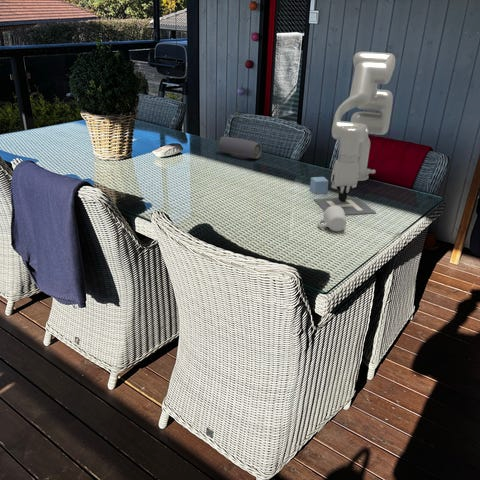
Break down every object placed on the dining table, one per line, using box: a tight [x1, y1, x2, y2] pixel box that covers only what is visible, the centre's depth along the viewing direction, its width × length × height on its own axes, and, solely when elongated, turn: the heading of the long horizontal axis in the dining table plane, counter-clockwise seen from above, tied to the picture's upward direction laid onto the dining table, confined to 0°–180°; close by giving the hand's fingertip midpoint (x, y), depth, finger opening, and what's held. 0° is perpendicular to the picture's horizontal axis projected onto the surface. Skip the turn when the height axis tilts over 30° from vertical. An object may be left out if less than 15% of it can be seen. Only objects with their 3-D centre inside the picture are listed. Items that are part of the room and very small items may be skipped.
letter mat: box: [313, 196, 377, 217], centre depth 202 cm, size 20×18×1 cm
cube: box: [309, 176, 329, 195], centre depth 216 cm, size 6×6×6 cm
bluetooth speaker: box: [217, 136, 263, 160], centre depth 262 cm, size 23×9×10 cm, turn 58°
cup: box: [317, 206, 347, 232], centre depth 180 cm, size 11×8×8 cm
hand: (342, 200), depth 200 cm, fingers closed
